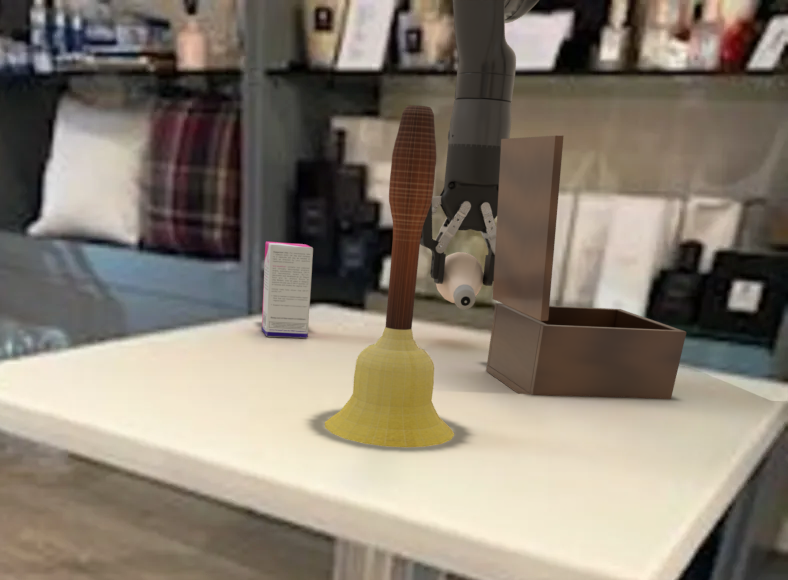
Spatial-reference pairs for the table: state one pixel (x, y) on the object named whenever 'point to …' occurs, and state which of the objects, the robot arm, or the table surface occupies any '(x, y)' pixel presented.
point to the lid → (527, 223)
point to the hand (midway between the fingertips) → (463, 283)
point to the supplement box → (286, 289)
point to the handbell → (399, 313)
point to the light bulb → (461, 279)
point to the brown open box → (584, 353)
